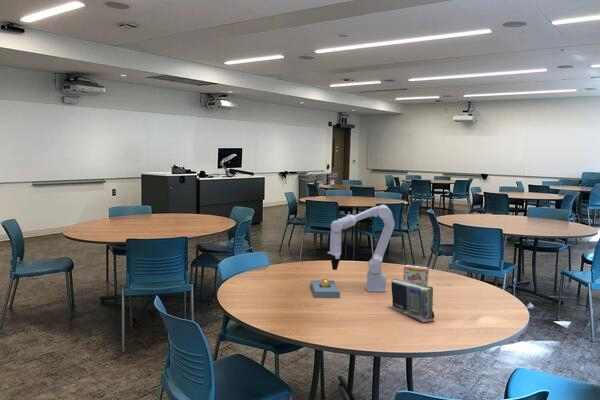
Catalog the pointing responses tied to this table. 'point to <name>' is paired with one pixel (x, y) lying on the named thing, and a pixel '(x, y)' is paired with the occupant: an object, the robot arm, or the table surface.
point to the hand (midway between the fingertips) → (334, 269)
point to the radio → (413, 300)
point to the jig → (325, 290)
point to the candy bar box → (416, 274)
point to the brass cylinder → (324, 283)
